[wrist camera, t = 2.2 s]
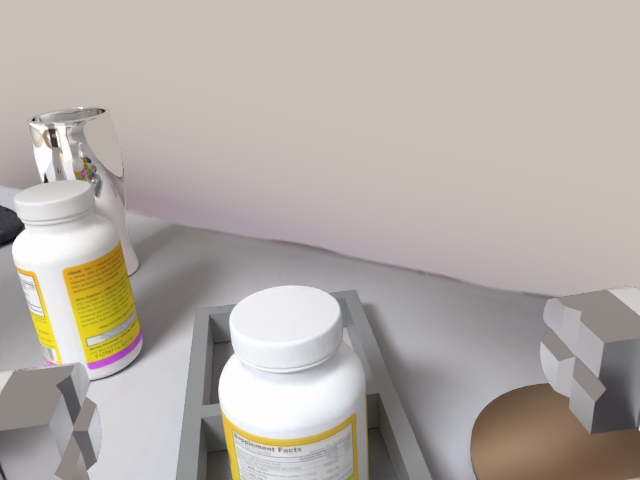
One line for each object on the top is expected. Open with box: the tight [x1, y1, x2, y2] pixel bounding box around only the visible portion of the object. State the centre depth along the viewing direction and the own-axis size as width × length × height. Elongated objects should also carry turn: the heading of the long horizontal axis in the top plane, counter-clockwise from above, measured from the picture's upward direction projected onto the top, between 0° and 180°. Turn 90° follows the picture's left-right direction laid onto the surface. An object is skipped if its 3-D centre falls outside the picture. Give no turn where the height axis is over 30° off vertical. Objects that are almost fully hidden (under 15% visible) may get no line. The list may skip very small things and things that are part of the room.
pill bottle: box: [218, 285, 369, 480], centre depth 26 cm, size 6×6×12 cm
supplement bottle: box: [12, 180, 143, 380], centre depth 39 cm, size 7×7×13 cm
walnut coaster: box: [470, 383, 640, 480], centre depth 30 cm, size 12×12×1 cm
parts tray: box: [176, 290, 432, 480], centre depth 33 cm, size 23×12×2 cm, turn 8°
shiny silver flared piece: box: [28, 107, 139, 276], centre depth 52 cm, size 7×7×15 cm
